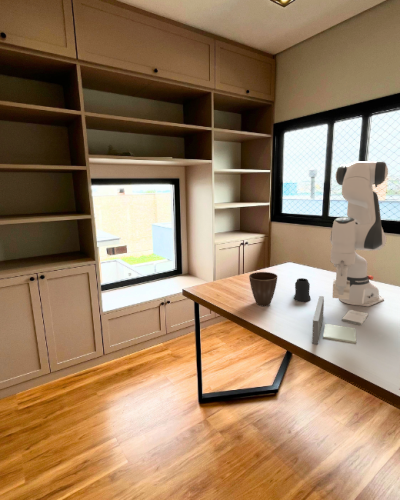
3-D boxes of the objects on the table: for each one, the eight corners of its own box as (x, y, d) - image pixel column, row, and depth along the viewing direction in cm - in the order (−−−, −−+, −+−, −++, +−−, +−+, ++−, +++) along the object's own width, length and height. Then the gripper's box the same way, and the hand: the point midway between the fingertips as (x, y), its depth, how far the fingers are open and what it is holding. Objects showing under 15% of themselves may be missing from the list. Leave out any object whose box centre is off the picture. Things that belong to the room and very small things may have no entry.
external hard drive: (341, 321, 134) (349, 312, 143) (361, 326, 129) (368, 316, 138) (341, 318, 134) (349, 309, 143) (361, 322, 128) (368, 313, 137)
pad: (325, 325, 130) (325, 323, 130) (355, 329, 125) (355, 328, 125) (322, 338, 120) (323, 336, 120) (355, 343, 114) (355, 341, 114)
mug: (313, 301, 157) (313, 282, 155) (296, 302, 158) (296, 282, 155) (306, 293, 169) (306, 275, 167) (290, 294, 169) (290, 276, 167)
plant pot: (277, 299, 164) (277, 272, 160) (277, 310, 150) (277, 280, 146) (251, 298, 168) (250, 271, 164) (248, 308, 154) (247, 279, 150)
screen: (318, 315, 140) (319, 296, 138) (323, 316, 140) (323, 296, 138) (312, 343, 116) (312, 320, 114) (317, 344, 115) (318, 321, 113)
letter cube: (333, 293, 123) (333, 279, 121) (349, 294, 120) (349, 280, 119) (332, 297, 117) (333, 283, 116) (349, 299, 115) (349, 284, 114)
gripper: (351, 265, 105) (349, 301, 108) (351, 253, 123) (349, 284, 126) (332, 264, 108) (331, 299, 111) (335, 253, 126) (333, 283, 128)
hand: (341, 291), depth 118 cm, fingers closed on letter cube, 6 cm apart
